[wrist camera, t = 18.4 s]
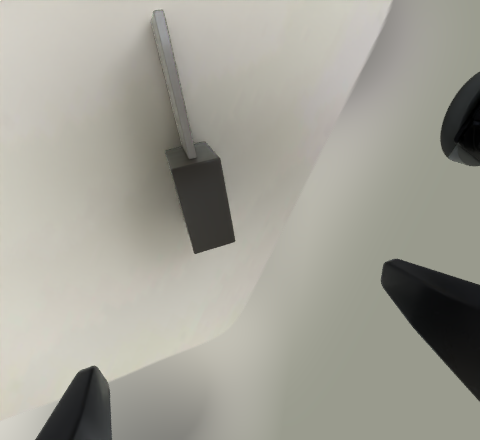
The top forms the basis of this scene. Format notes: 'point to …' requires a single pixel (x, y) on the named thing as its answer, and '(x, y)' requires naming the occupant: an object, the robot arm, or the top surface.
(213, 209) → the knife
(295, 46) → the top surface
